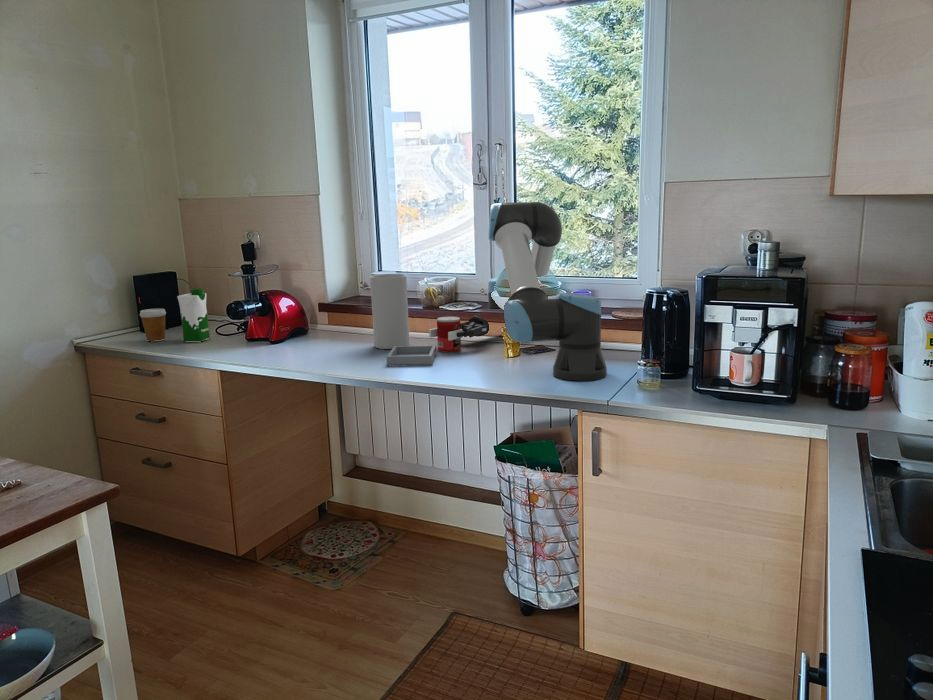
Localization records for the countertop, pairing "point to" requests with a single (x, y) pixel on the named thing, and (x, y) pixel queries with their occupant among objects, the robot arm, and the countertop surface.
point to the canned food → (442, 334)
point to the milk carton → (194, 315)
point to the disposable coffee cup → (153, 323)
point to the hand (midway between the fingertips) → (439, 335)
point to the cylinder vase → (389, 310)
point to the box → (411, 355)
